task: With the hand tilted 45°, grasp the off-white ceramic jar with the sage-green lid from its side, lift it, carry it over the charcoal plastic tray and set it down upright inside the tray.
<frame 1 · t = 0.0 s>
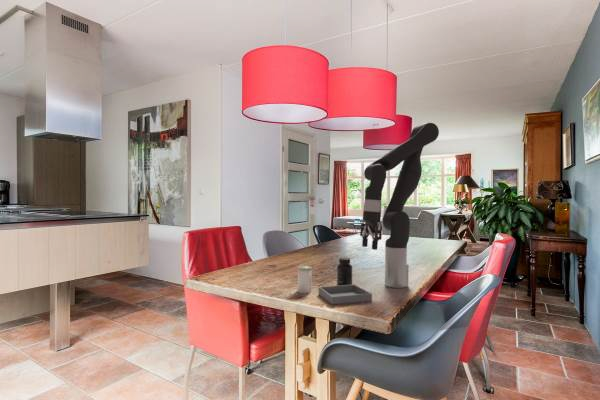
hand: (369, 248, 149), 17 cm above the table, tool pointing down, fingers open, 8 cm apart
tray: (344, 297, 133), on the table
jar: (304, 291, 142), on the table
supplement bottle: (344, 286, 152), on the table
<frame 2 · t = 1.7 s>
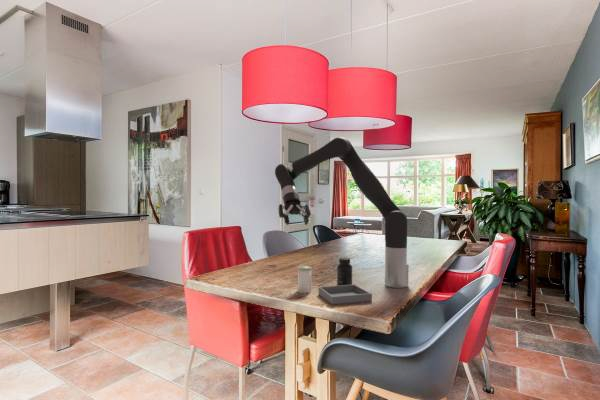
hand: (297, 223, 152), 27 cm above the table, tool tilted 45°, fingers open, 8 cm apart
nothing on the table moved.
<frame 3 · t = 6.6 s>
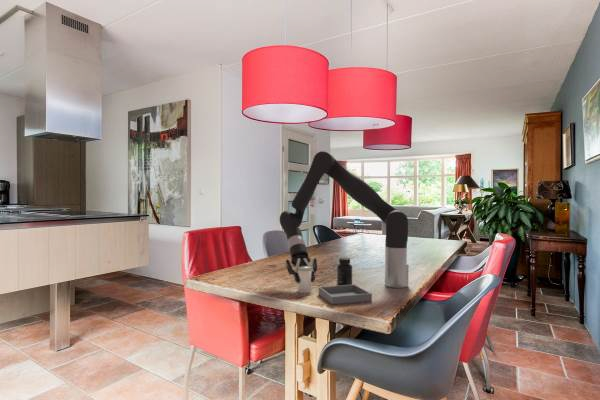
hand: (305, 281, 140), 4 cm above the table, tool tilted 45°, fingers closed on jar, 5 cm apart
jar: (304, 291, 142), on the table, touching gripper
everything else where it was.
when the fingers open (7 cm above the table, at t = 12.6 s): jar drops 2 cm, resting on tray.
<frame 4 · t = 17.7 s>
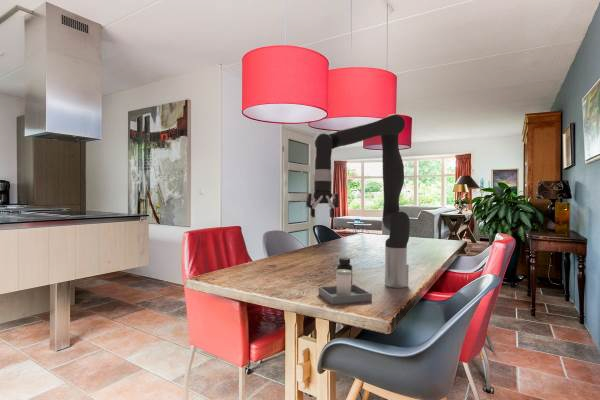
hand: (322, 217, 151), 30 cm above the table, tool pointing down, fingers open, 8 cm apart
jar: (343, 296, 133), resting on tray
everything else where it was.
at the end: jar inside the target area on the tray (0.2 cm from its centre), point 0.5 cm above the tray's base; jar tilted 0°; the gripper is holding nothing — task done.
